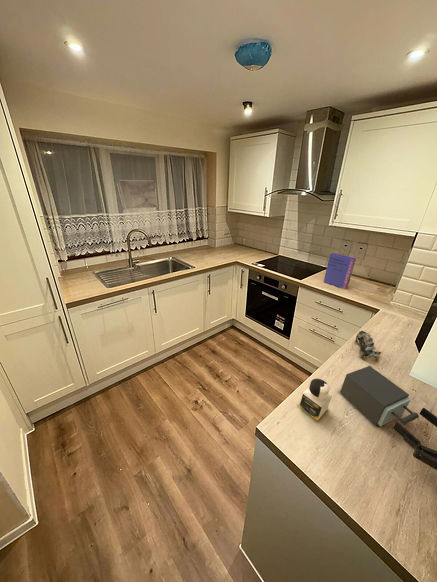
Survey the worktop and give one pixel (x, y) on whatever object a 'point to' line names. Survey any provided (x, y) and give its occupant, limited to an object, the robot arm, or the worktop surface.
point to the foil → (366, 345)
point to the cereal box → (339, 270)
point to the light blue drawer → (397, 413)
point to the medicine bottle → (316, 398)
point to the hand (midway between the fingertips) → (408, 417)
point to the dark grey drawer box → (371, 392)
